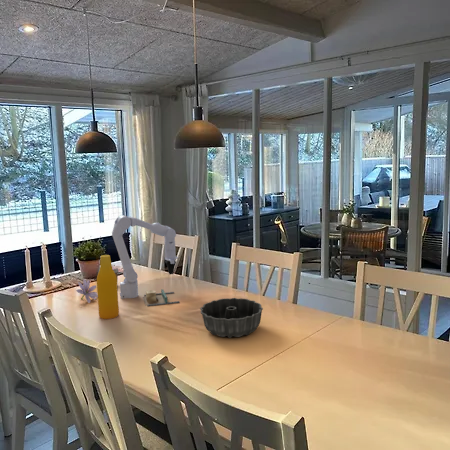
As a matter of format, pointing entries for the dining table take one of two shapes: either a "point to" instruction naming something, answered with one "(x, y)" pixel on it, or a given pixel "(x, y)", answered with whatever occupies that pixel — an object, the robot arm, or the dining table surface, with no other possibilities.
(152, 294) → the maple cube
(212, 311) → the bundt pan
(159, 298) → the clear flat box
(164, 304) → the lane rails
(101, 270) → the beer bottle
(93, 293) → the water lily
